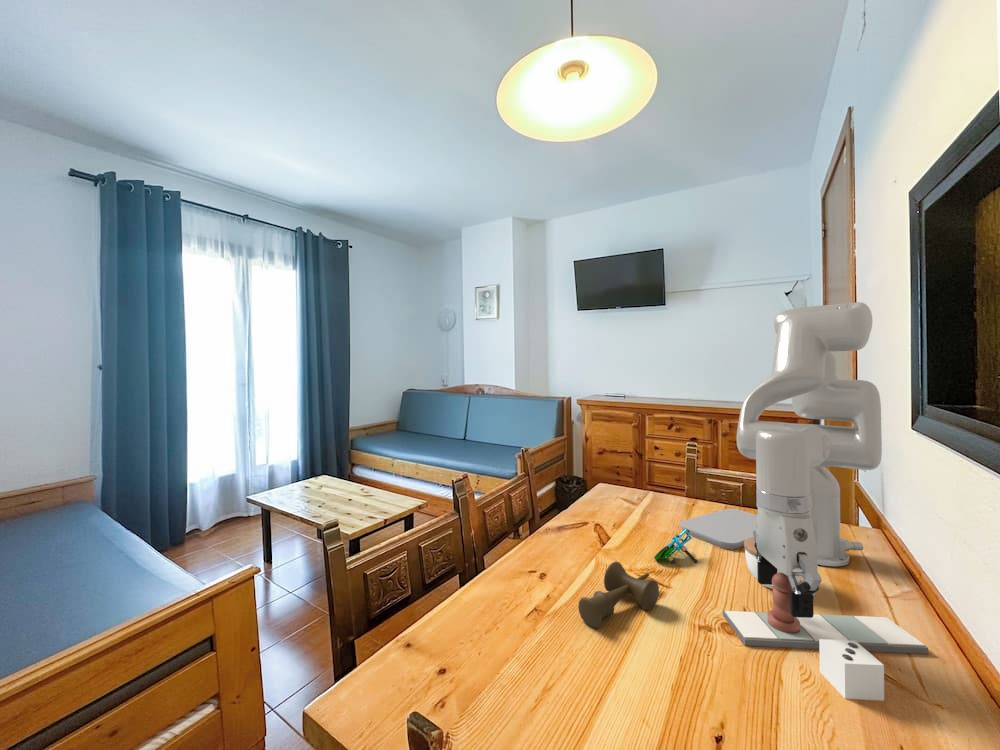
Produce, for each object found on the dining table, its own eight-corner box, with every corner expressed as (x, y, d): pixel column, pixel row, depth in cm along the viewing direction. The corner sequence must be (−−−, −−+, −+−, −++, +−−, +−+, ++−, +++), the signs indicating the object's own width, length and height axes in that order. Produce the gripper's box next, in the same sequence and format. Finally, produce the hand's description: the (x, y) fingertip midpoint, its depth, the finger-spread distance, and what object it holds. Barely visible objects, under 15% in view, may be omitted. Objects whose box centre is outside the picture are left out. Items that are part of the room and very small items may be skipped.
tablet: (674, 531, 114) (674, 523, 114) (731, 514, 126) (731, 507, 126) (730, 554, 99) (730, 545, 99) (788, 532, 111) (788, 524, 111)
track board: (884, 622, 71) (884, 615, 71) (928, 654, 63) (928, 646, 63) (723, 615, 74) (722, 609, 74) (745, 645, 66) (744, 638, 66)
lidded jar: (744, 566, 92) (743, 525, 92) (802, 578, 87) (801, 535, 87) (744, 588, 83) (744, 543, 83) (809, 603, 78) (809, 555, 78)
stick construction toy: (678, 538, 103) (689, 521, 98) (701, 561, 99) (713, 545, 94) (646, 561, 98) (655, 545, 93) (668, 587, 94) (679, 571, 89)
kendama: (567, 616, 76) (628, 578, 88) (609, 645, 68) (670, 598, 81) (566, 586, 75) (628, 551, 88) (609, 611, 68) (670, 569, 80)
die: (855, 673, 60) (855, 639, 60) (884, 701, 55) (883, 664, 55) (819, 671, 60) (819, 638, 60) (845, 699, 55) (844, 662, 55)
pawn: (789, 617, 71) (788, 567, 71) (806, 634, 67) (805, 581, 67) (762, 616, 72) (761, 567, 72) (777, 633, 67) (776, 580, 67)
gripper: (843, 520, 60) (844, 632, 60) (775, 486, 77) (777, 573, 78) (790, 519, 61) (791, 630, 61) (735, 485, 78) (736, 572, 78)
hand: (783, 598), depth 69 cm, fingers open, 9 cm apart
